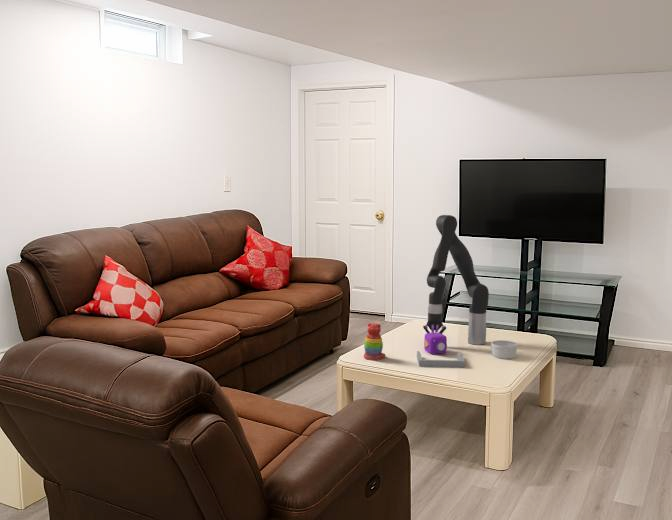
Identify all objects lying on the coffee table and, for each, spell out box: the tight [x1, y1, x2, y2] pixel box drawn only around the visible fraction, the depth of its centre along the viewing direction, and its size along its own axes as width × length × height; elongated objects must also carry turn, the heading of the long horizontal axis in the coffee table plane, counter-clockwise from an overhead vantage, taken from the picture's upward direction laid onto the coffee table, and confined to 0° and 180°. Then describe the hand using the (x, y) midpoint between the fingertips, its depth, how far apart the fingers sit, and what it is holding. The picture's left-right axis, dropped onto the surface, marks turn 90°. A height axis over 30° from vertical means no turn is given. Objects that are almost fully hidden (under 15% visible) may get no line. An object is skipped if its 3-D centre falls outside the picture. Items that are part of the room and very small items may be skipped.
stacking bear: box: [363, 322, 387, 361], centre depth 354 cm, size 11×10×18 cm
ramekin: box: [490, 339, 519, 360], centre depth 360 cm, size 13×13×7 cm
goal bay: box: [416, 350, 466, 368], centre depth 348 cm, size 22×16×3 cm
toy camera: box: [423, 331, 448, 355], centre depth 365 cm, size 11×14×10 cm
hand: (434, 343), depth 379 cm, fingers closed
